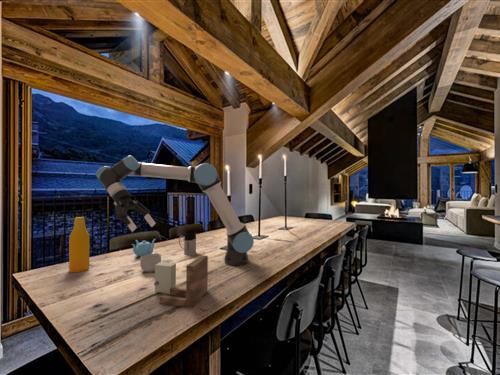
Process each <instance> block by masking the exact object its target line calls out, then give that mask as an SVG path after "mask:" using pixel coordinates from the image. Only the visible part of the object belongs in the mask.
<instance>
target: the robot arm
mask: <svg viewBox="0 0 500 375" xmlns="http://www.w3.org/2000/svg"><path fill="white" fill-rule="evenodd" d="M95 176H96V178H97V179H98V181H99V183H101V185H102V186H103V187H104V188H105V190H106V192H108V194H109V196H110V197H111V199H112V200H113V201H114V202H113V203H112V205H113V207H114V210H115V214H116V219H117V220H119V221H120V222H124V223H125V225H126V226H127V227H128V229H129V230H130V231H131V233H133V232H134V231H135V230H136V229H138V226H136V224H135V223H134V221H133V220H132V219H131V217H130V216H128V210H132V211H135V212H137V213H138V214H141V215H142V216H143V218H144V219H145V221H146V222H147V224H149V226H150V227H151V228H153V227H154V226H155V225H156V224H157V222H156V221H155V220H154V219H153V217H152V216H151V215H150V213H151V210H149V208H148V207H146V206H145V205H144V204H142V203H141V202H140V201H139V200H138V199H136V198H135V199H134V200H133V199H132V194H131V193H130V192H129V191H128V189H127V188H126V186H125V185H124V184H123V182H122V180H123V179H125V178H126V177H127V176H133V177H134V176H136V177H148V178H149V177H150V178H160V179H172V180H182V181H188V183H195V184H197V185H198V186H199V188H200V190H201V192H202V193H205V194H206V195H207V197H208V198H209V200H210V202H211V204H212V206H213V208H214V209H215V211H216V213H217V214H218V216H219V218H220V220H221V222H222V224H223V225H224V227H225V229H226V236H227V245H226V246H227V248H226V253H225V255H224V260H223V261H224V263H225V264H226V265H229V266H242V265H244V266H245V265H246V264H249V261H250V260H249V255H248V252H249V251H250V250H251V249H252V248H253V246H254V242H255V241H254V236H253V235H252V234H251V233H250V232H249V230H248V228H247V225H246V224H245V223H244V222H241V221H240V219H239V218H238V215H237V214H236V211H235V210H234V208H233V206H232V205H231V203H230V201H229V199H228V197H227V195H226V193H225V191H224V190H223V188H222V186H221V183H222V181H221V178H220V176H219V175H218V172H217V169H216V168H215V166H214V165H213V164H210V163H208V162H203V163H200V164H198V165H195V166H194V165H190V166H188V167H187V166H178V165H167V164H158V163H157V164H156V163H148V162H147V163H146V162H139V161H138V160H137V159H136V158H135V157H134V156H133V155H131V154H130V155H127V156H125V157H123V159H121V160H119V161H118V162H116V163H115V164H114V165H113V166H109V165H108V166H107V165H104V166H102V167H99V168H98V169H97V171H95Z"/></svg>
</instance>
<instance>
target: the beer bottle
mask: <svg viewBox="0 0 500 375" xmlns="http://www.w3.org/2000/svg"><path fill="white" fill-rule="evenodd" d="M85 222H86V221H85V216H79V217H78V216H76V217H74V223H73V227H72V228H73V229H72V230H71V232H70V234H69V238H68V243H69V244H68V254H69V255H68V258H69V259H68V261H69V262H68V270H69V272H70V273H80V272H85V271H87V270H88V269H89V268H90V234H89V232H88V230H87V228H86V223H85Z"/></svg>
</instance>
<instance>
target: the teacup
mask: <svg viewBox="0 0 500 375" xmlns="http://www.w3.org/2000/svg"><path fill="white" fill-rule="evenodd" d="M139 260H140V261H139V262H140V268H141V270H142V271H143V272H146V273H153V272H155V265H156V264H158V263H159V262H162V254H160V253H157V252H155V253H152V254H148V255H144V256H142V257H141V256H139Z"/></svg>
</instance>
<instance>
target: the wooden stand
mask: <svg viewBox="0 0 500 375" xmlns="http://www.w3.org/2000/svg"><path fill="white" fill-rule="evenodd" d="M208 262H209V256H208V255H203V254H202V255H200V256H198V257H197V258H196V259H194V260H192V262H189V263H188V264H187V265H186V268H185V269H186V274H185V276H186V281H185V282H186V285H185V288H181V287H180V288H178V287H176V288H170V294H169V295H163V294H162V295H160V296H159V304H163V305H169V306H177V307H178V306H179V307H186V308H187V307H189V308H191V307H192V308H194V307H195V306H196V304H197V303H198V302H199V301H200V300H201V299H202V298H203V297H204V296H205V294H207V292H208V285H209V284H208V280H209V279H208V278H209V277H208V272H209V271H208V268H209V267H208V264H209V263H208ZM176 296H177V297H176Z"/></svg>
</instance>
